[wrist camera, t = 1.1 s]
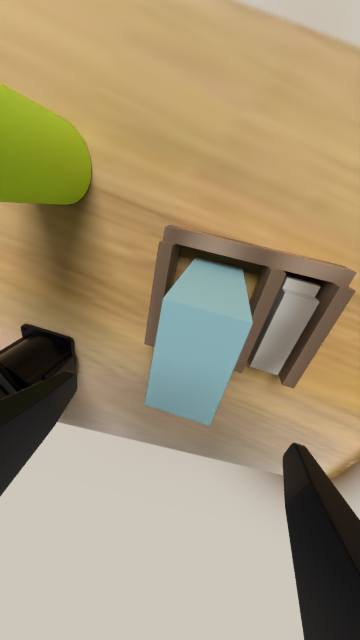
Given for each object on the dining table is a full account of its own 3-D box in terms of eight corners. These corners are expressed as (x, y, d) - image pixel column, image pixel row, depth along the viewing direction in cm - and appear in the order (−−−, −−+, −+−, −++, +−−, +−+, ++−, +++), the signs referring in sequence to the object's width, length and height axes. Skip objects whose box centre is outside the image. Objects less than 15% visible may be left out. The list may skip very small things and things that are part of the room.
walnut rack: (154, 328, 22) (144, 343, 20) (171, 224, 17) (161, 227, 15) (286, 366, 21) (293, 388, 18) (343, 265, 16) (364, 276, 14)
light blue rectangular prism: (179, 326, 22) (144, 404, 13) (195, 256, 18) (162, 298, 10) (218, 337, 21) (209, 425, 12) (242, 268, 18) (252, 323, 9)
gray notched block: (247, 347, 21) (249, 366, 19) (281, 271, 18) (290, 282, 15) (271, 354, 21) (277, 375, 18) (311, 279, 17) (325, 291, 15)
